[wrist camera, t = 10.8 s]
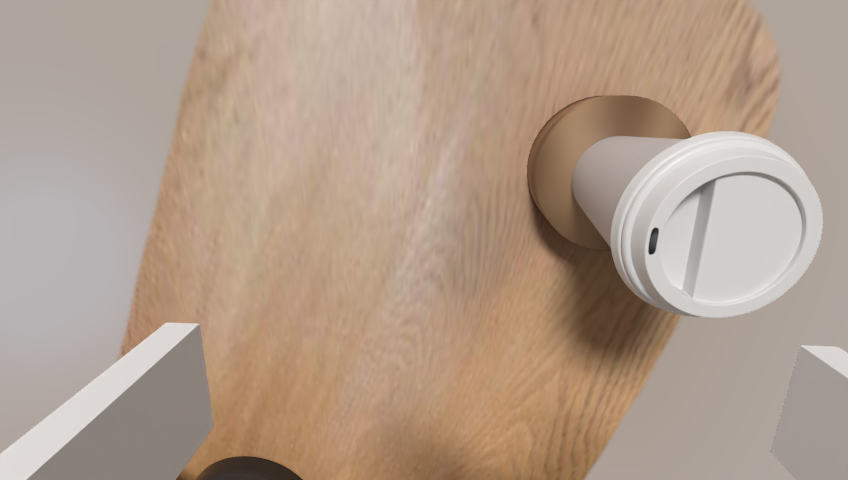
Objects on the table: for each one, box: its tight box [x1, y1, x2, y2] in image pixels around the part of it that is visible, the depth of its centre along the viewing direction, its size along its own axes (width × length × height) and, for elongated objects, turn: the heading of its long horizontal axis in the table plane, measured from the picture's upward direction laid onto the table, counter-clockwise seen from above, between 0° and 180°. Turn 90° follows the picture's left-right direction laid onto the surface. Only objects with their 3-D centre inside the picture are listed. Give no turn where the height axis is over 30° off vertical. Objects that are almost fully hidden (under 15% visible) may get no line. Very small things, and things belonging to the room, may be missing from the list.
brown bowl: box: [527, 96, 691, 251], centre depth 38 cm, size 12×12×5 cm
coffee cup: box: [572, 131, 823, 318], centre depth 28 cm, size 10×10×15 cm
